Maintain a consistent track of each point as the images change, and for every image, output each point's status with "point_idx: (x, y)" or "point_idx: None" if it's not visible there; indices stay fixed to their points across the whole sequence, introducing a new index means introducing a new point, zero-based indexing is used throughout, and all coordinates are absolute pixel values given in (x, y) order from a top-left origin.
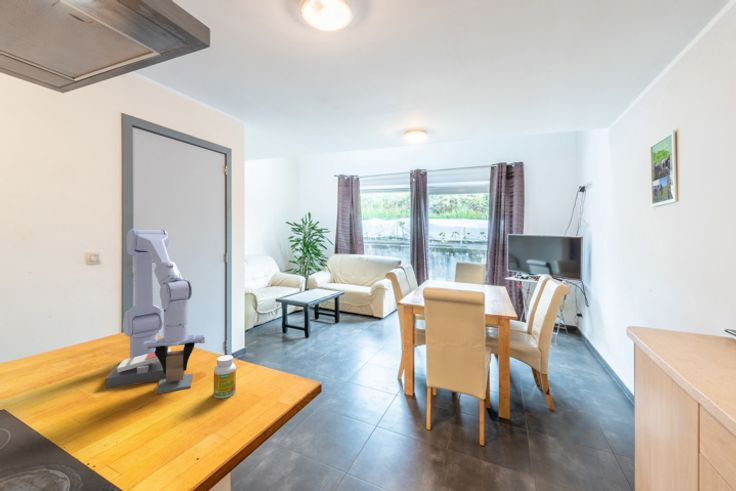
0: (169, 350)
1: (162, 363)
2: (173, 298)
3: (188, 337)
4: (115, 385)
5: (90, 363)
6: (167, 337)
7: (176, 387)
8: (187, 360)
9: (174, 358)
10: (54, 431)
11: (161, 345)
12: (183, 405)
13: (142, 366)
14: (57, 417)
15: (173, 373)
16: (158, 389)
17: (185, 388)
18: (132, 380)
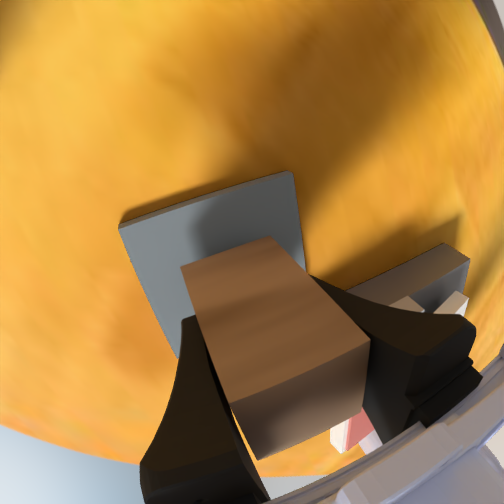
0: (339, 441)
1: (358, 302)
2: None
3: None
4: (431, 253)
5: None
6: (497, 495)
7: (194, 209)
8: (179, 372)
9: (293, 352)
10: (465, 8)
11: (482, 400)
12: (81, 18)
13: None
14: (486, 87)
15: (248, 274)
16: (286, 194)
17: (143, 215)
18: (401, 277)
